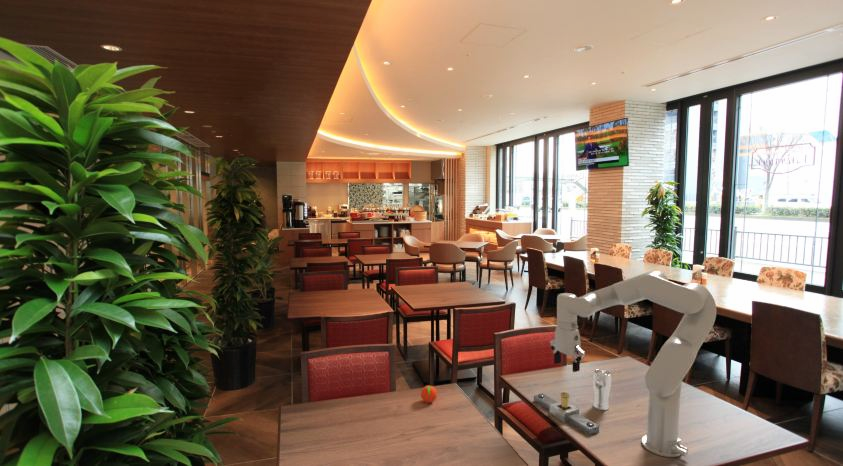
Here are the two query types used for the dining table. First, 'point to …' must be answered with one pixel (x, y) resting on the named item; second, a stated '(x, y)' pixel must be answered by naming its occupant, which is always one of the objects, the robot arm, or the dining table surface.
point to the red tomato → (428, 394)
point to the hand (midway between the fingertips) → (566, 367)
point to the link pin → (564, 400)
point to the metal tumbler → (601, 388)
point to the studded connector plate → (567, 414)
